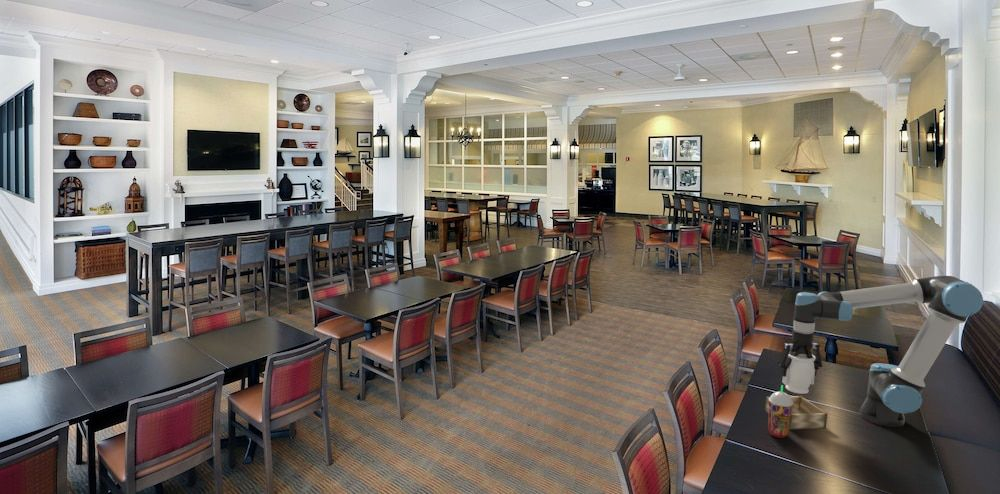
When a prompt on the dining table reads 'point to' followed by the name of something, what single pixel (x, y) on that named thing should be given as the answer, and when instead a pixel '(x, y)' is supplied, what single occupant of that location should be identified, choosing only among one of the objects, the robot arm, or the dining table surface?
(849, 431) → the dining table surface
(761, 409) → the dining table surface
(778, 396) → the smoothie
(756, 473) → the dining table surface
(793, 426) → the crate
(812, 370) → the jar
